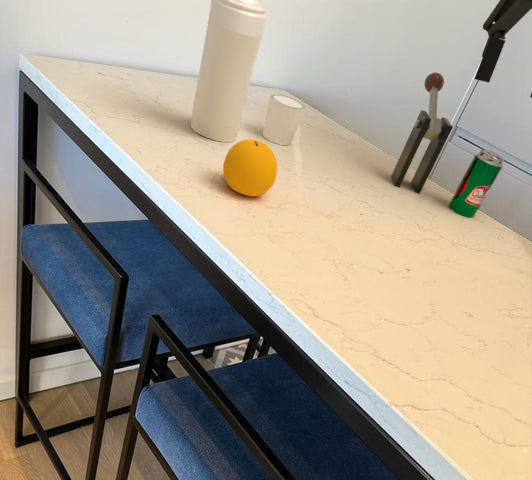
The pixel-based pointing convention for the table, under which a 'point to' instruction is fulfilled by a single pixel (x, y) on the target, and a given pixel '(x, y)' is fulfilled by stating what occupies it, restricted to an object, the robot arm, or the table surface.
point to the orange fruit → (250, 168)
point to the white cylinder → (282, 119)
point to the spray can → (227, 67)
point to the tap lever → (433, 104)
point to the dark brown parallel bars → (428, 157)
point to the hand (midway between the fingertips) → (508, 89)
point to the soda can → (476, 183)
